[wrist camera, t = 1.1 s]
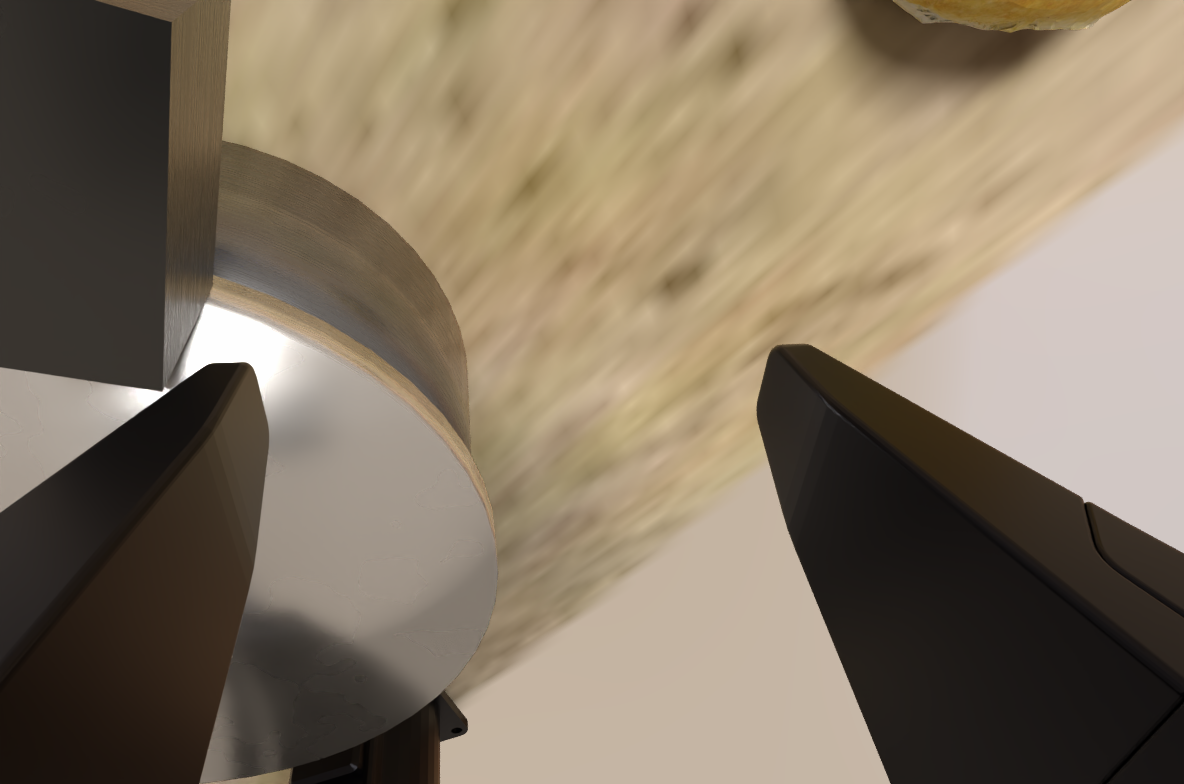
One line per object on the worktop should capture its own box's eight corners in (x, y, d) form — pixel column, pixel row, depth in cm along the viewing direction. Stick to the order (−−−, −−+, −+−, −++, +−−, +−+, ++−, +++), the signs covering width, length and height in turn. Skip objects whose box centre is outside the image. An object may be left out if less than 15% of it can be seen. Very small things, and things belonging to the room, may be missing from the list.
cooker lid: (423, 757, 24) (421, 878, 22) (-217, 743, 19) (-326, 899, 17) (675, 103, 13) (737, 185, 10) (-714, -336, 8) (-1318, -407, 5)
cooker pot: (532, 474, 27) (553, 635, 22) (142, 598, 28) (73, 783, 23) (211, -191, 15) (88, -184, 10) (-457, 63, 16) (-897, 192, 11)
